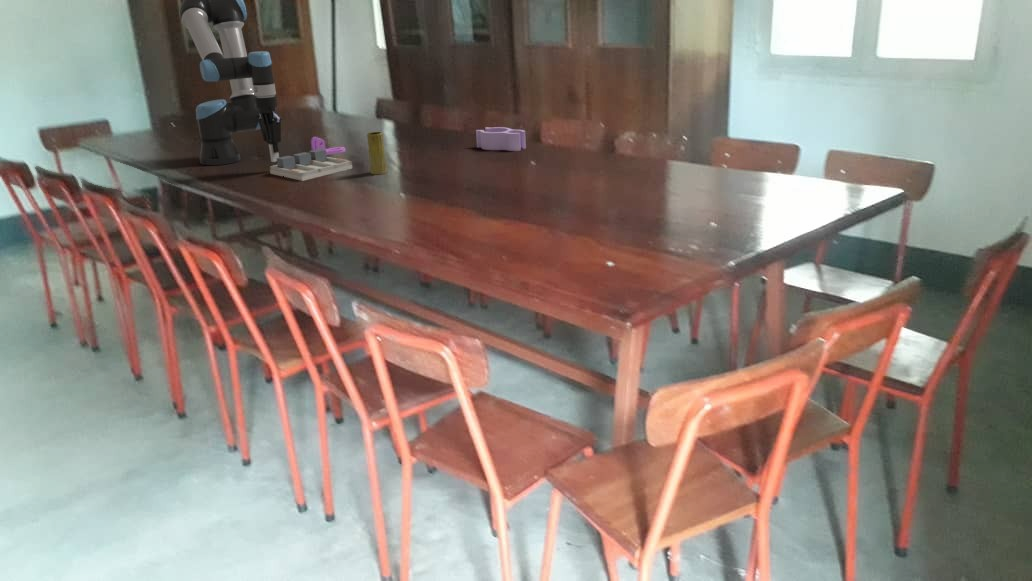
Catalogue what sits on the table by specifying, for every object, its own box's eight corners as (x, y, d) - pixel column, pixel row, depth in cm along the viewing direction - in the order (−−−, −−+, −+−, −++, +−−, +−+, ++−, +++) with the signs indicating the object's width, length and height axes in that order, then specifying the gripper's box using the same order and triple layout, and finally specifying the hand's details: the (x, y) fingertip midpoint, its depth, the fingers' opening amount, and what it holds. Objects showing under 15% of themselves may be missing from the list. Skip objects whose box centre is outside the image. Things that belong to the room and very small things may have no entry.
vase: (371, 175, 285) (366, 135, 280) (369, 171, 291) (365, 132, 285) (388, 173, 287) (384, 133, 281) (386, 170, 292) (382, 130, 287)
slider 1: (278, 169, 292) (276, 158, 291) (289, 166, 296) (288, 155, 294) (284, 170, 290) (282, 159, 288) (295, 167, 293) (294, 156, 292)
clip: (531, 146, 321) (530, 129, 319) (514, 152, 311) (513, 135, 309) (490, 142, 331) (489, 126, 329) (472, 148, 322) (471, 131, 319)
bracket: (317, 156, 319) (315, 139, 317) (312, 154, 324) (310, 137, 321) (347, 151, 326) (345, 134, 324) (342, 149, 330) (340, 132, 328)
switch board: (270, 173, 294) (269, 165, 293) (320, 162, 309) (319, 154, 308) (302, 180, 281) (301, 172, 280) (352, 168, 297) (351, 160, 295)
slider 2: (294, 165, 297) (292, 154, 296) (305, 162, 301) (304, 152, 299) (300, 166, 295) (299, 155, 293) (311, 163, 298) (310, 153, 297)
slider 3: (310, 161, 302) (308, 151, 301) (320, 159, 305) (319, 148, 304) (316, 162, 300) (314, 152, 298) (327, 160, 303) (325, 149, 301)
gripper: (246, 96, 289) (257, 161, 298) (266, 98, 281) (276, 165, 290) (264, 93, 294) (274, 157, 303) (284, 95, 286) (294, 161, 295)
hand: (275, 161), depth 296 cm, fingers closed
